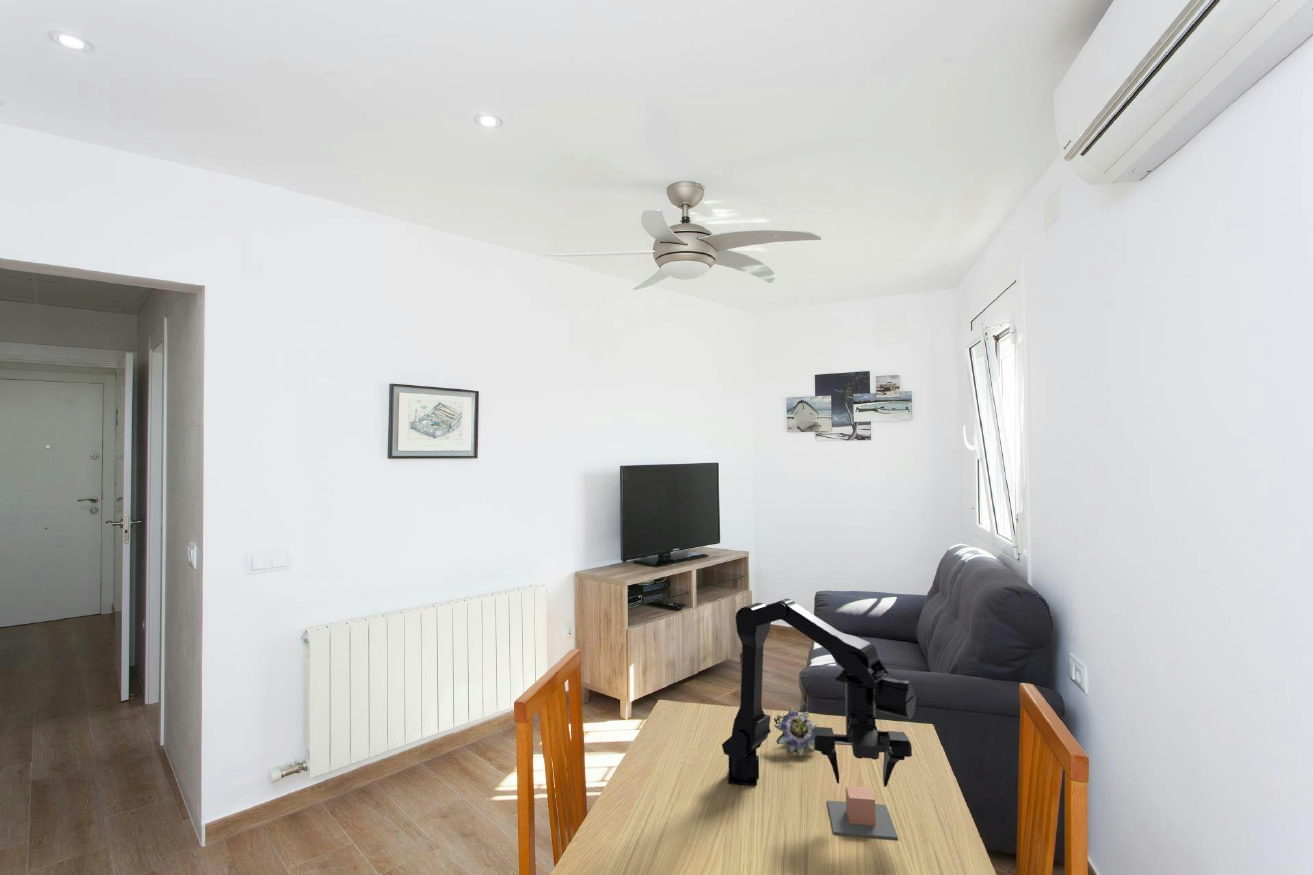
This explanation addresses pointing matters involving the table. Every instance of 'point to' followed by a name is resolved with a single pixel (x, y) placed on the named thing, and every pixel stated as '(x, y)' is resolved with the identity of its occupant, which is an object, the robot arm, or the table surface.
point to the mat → (843, 826)
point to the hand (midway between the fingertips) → (861, 784)
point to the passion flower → (796, 731)
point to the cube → (860, 805)
